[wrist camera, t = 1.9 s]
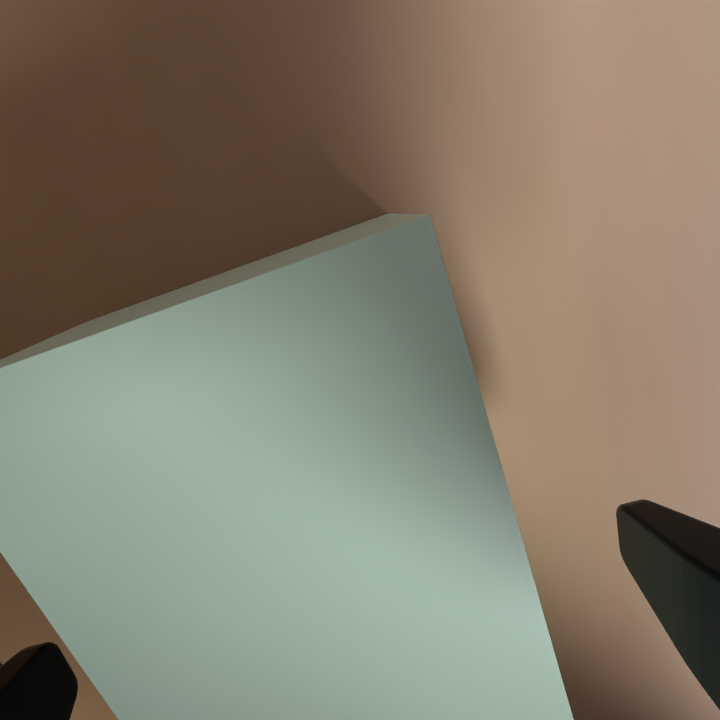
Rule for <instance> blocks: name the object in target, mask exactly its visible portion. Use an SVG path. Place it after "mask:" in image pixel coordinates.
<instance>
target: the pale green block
mask: <svg viewBox="0 0 720 720" xmlns="http://www.w3.org/2000/svg"><path fill="white" fill-rule="evenodd" d="M0 552H1V554H2V555H3V557H4V558H5V559H6V561H7V562H8V564H9V565H10V567H11V568H12V569H13V571H14V572H15V574H16V575H17V577H18V578H19V579H20V581H21V582H22V584H23V585H24V586H25V588H26V589H27V591H28V592H29V594H30V595H31V596H32V598H33V599H34V601H35V602H36V603H37V605H38V606H39V608H40V609H41V611H42V612H43V613H44V615H45V616H46V618H47V619H48V621H49V622H50V623H51V625H52V626H53V628H54V629H55V630H56V632H57V633H58V635H59V636H60V638H61V639H62V640H63V642H64V643H65V645H66V646H67V648H68V649H69V650H70V652H71V653H72V655H73V656H74V657H75V659H76V660H77V662H78V663H79V665H80V666H81V667H82V669H83V670H84V672H85V673H86V675H87V676H88V677H89V679H90V680H91V682H92V683H93V684H94V686H95V687H96V689H97V690H98V692H99V693H100V694H101V696H102V697H103V699H104V700H105V702H106V703H107V704H108V706H109V707H110V709H111V710H112V711H113V713H114V714H115V716H116V717H117V719H118V720H574V719H573V716H572V712H571V709H570V705H569V702H568V698H567V695H566V691H565V688H564V684H563V681H562V677H561V674H560V670H559V666H558V663H557V659H556V656H555V652H554V649H553V645H552V642H551V638H550V635H549V631H548V628H547V624H546V621H545V617H544V614H543V610H542V607H541V603H540V600H539V596H538V593H537V589H536V586H535V582H534V579H533V575H532V572H531V568H530V565H529V561H528V558H527V554H526V551H525V547H524V544H523V540H522V537H521V533H520V530H519V526H518V523H517V519H516V516H515V512H514V509H513V505H512V502H511V498H510V495H509V491H508V487H507V484H506V480H505V477H504V473H503V470H502V466H501V463H500V459H499V456H498V452H497V449H496V445H495V442H494V438H493V435H492V431H491V428H490V424H489V421H488V417H487V414H486V410H485V407H484V403H483V400H482V396H481V393H480V389H479V386H478V382H477V379H476V375H475V372H474V368H473V365H472V361H471V358H470V354H469V351H468V347H467V344H466V340H465V337H464V333H463V330H462V326H461V323H460V319H459V316H458V312H457V309H456V305H455V301H454V298H453V294H452V291H451V287H450V284H449V280H448V277H447V273H446V270H445V266H444V263H443V259H442V256H441V252H440V249H439V245H438V242H437V238H436V235H435V231H434V228H433V224H432V221H431V217H430V215H425V214H394V213H388V214H385V215H382V216H379V217H377V218H374V219H371V220H368V221H365V222H363V223H360V224H357V225H354V226H351V227H349V228H346V229H343V230H340V231H338V232H335V233H332V234H329V235H326V236H324V237H321V238H318V239H315V240H313V241H310V242H307V243H304V244H301V245H299V246H296V247H293V248H290V249H287V250H285V251H282V252H279V253H276V254H274V255H271V256H268V257H265V258H262V259H260V260H257V261H254V262H251V263H248V264H246V265H243V266H240V267H237V268H235V269H232V270H229V271H226V272H223V273H221V274H218V275H215V276H212V277H210V278H207V279H204V280H201V281H198V282H196V283H193V284H190V285H187V286H184V287H182V288H179V289H176V290H173V291H171V292H168V293H165V294H162V295H159V296H157V297H154V298H151V299H148V300H145V301H143V302H140V303H137V304H134V305H132V306H129V307H126V308H123V309H120V310H118V311H115V312H112V313H109V314H107V315H104V316H101V317H98V318H95V319H93V320H90V321H87V322H85V323H83V324H80V325H78V326H76V327H73V328H71V329H69V330H67V331H64V332H62V333H60V334H58V335H55V336H53V337H51V338H48V339H46V340H44V341H42V342H39V343H37V344H35V345H32V346H30V347H28V348H26V349H23V350H21V351H19V352H17V353H14V354H12V355H10V356H7V357H5V358H3V359H1V360H0Z"/></svg>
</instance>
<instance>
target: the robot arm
mask: <svg viewBox="0 0 720 720" xmlns="http://www.w3.org/2000/svg"><path fill="white" fill-rule="evenodd" d="M616 517H617V527H618V537H619V546H620V552H621V555H622V558H623V560H624V562H625V564H626V566H627V568H628V570H629V571H630V573H631V575H632V576H633V578H634V579H635V581H636V583H637V584H638V586H639V588H640V589H641V591H642V593H643V594H644V596H645V598H646V599H647V601H648V602H649V604H650V606H651V607H652V609H653V611H654V612H655V614H656V616H657V617H658V619H659V621H660V622H661V624H662V625H663V627H664V629H665V630H666V632H667V634H668V635H669V637H670V639H671V640H672V642H673V644H674V645H675V647H676V648H677V650H678V652H679V653H680V655H681V656H682V658H683V659H684V661H685V663H686V664H687V666H688V667H689V668H690V670H691V671H692V673H693V674H694V676H695V677H696V678H697V680H698V681H699V683H700V684H701V685H702V687H703V688H704V689H705V691H706V692H707V693H708V695H709V696H710V697H711V699H712V700H713V701H714V703H715V704H716V706H717V707H718V708H719V710H720V528H718V527H715V526H713V525H710V524H708V523H705V522H703V521H700V520H697V519H695V518H692V517H690V516H687V515H685V514H682V513H680V512H677V511H674V510H672V509H669V508H667V507H664V506H662V505H659V504H657V503H654V502H651V501H648V500H637V501H633V502H629V503H625V504H621V505H620V506H618V508H617V511H616ZM77 690H78V684H77V679H76V676H75V674H74V673H73V671H72V669H71V667H70V666H69V664H68V662H67V661H66V659H65V657H64V655H63V654H62V652H61V650H60V649H59V647H58V646H57V645H56V644H54V643H52V642H46V643H42V644H38V645H34V646H30V647H27V648H25V649H23V650H21V651H20V652H18V653H17V654H16V655H15V656H14V657H12V658H11V659H10V660H9V661H7V662H6V663H5V664H4V665H2V666H1V667H0V720H70V716H71V713H72V710H73V706H74V703H75V700H76V696H77Z"/></svg>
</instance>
